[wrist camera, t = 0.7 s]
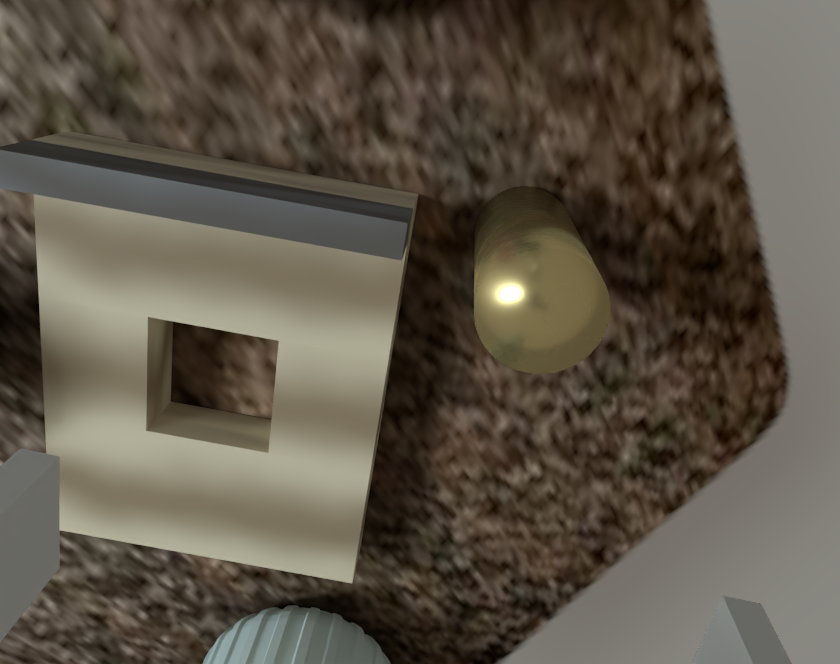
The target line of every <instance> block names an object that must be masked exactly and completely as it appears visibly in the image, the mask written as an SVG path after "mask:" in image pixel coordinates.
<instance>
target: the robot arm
mask: <svg viewBox="0 0 840 664" xmlns="http://www.w3.org/2000/svg"><path fill="white" fill-rule="evenodd" d="M59 498H60V457H59V456H54V455H49V454H45V453H40V452H35V451H30V450H25V449H20V450H18V451H17V452H16V453H15V454H14V455H13V456H12V457H10V458H9V459H8V460H7V461H6V462H5V463H4V464H3V465H1V466H0V642H1V640H2V639H3V638H4V637H5V635H6V634H7V633H8V632H9V630H10V629H11V628H12V627H13V625H14V624H15V623H16V622H17V620H18V619H19V618H20V617H21V615H22V614H23V613H24V612H25V610H26V609H27V608H28V607H29V605H30V604H31V603H32V601H33V600H34V599H35V598H36V596H37V595H38V594H39V593H40V591H41V590H42V589H43V588H44V586H45V585H46V584H47V583H48V581H49V580H50V579H51V578H52V576H53V575H54V574H55V573H56V571H57V570H58V569H59ZM691 664H791V662H790V659H789V658H788V656H787V654H786V652H785V650H784V648H783V646H782V644H781V642H780V640H779V638H778V636H777V634H776V632H775V630H774V628H773V626H772V624H771V622H770V620H769V618H768V616H767V614H766V613H765V611H764V609H763V607H762V605H761V604H760V603H755V602H750V601H745V600H741V599H735V598H731V597H726V596H722V598H721V600H720V602H719V605H718V607H717V609H716V611H715V613H714V615H713V617H712V620H711V622H710V624H709V626H708V628H707V630H706V633H705V635H704V637H703V639H702V641H701V643H700V645H699V648H698V650H697V652H696V654H695V656H694V658H693V661H692V663H691Z"/></svg>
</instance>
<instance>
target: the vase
mask: <svg viewBox="0 0 840 664" xmlns="http://www.w3.org/2000/svg"><path fill="white" fill-rule="evenodd" d="M203 664H391V663H390V661H389V659H388V658H387V656H386V655H385V654H384V653H383V652H382V651H381V648H380V646H379V645H378V643H377V642H376V641H375V640H374V639H373V638H372V637H371V636H369V635H367V634H364V631H363V629H362V628H361V627H360V626H358V625H357V624H355V623H353V622H351V623H348V622H347V621H346V620H344V619H343V618H342V616H340V615H338V614H336V613H332V614H331V613H329V612H325V611H322V610H320V609H319V608H315V607H311V608H299V606H296V605H289V606H287V607H285V608H284V609H279V608H276V607H272V608H268V609H265V610H262V611H261V612H260V613H259V614H251V615H249V616H246V617H244V618H243V619H241V620H240V621H238V622H237V623H236V624H235V625H234V626H232V627H230V628H228V629H227V630H226V631H225V632H224V633H223V634H222V635H221V636H220V637H219V638H218V639H217V641H216V643H215V644H214V646H213V647H211V649H210V650H209V652H208V654H207V655H206V657H205V659H204V662H203Z"/></svg>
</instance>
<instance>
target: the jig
mask: <svg viewBox="0 0 840 664" xmlns="http://www.w3.org/2000/svg"><path fill="white" fill-rule="evenodd" d="M0 188H2V189H7V190H13V191H18V192H24V193H29V194H34V210H35V231H36V251H37V271H38V292H39V312H40V332H41V353H42V373H43V393H44V414H45V434H46V454H49V455H54V456H59V457H60V498H59V530H62V531H68V532H73V533H79V534H84V535H89V536H95V537H100V538H106V539H111V540H117V541H122V542H128V543H133V544H139V545H144V546H150V547H155V548H161V549H166V550H172V551H177V552H183V553H188V554H194V555H199V556H205V557H210V558H216V559H221V560H227V561H232V562H238V563H243V564H249V565H254V566H260V567H265V568H271V569H276V570H282V571H287V572H293V573H298V574H304V575H309V576H315V577H320V578H326V579H331V580H336V581H342V582H347V583H352V582H353V577H354V573H355V569H356V564H357V560H358V555H359V551H360V547H361V541H362V535H363V529H364V523H365V517H366V511H367V504H368V498H369V492H370V486H371V480H372V474H373V468H374V462H375V456H376V450H377V444H378V438H379V431H380V425H381V419H382V413H383V407H384V401H385V395H386V389H387V383H388V377H389V371H390V365H391V358H392V352H393V346H394V340H395V334H396V328H397V322H398V316H399V310H400V304H401V298H402V291H403V285H404V279H405V273H406V267H407V261H408V255H409V249H410V243H411V237H412V231H413V225H414V218H415V212H416V206H417V200H418V194H416V193H411V192H405V191H400V190H394V189H389V188H383V187H378V186H372V185H366V184H361V183H355V182H350V181H344V180H339V179H333V178H327V177H322V176H316V175H311V174H305V173H300V172H294V171H289V170H283V169H277V168H272V167H266V166H261V165H255V164H250V163H244V162H238V161H233V160H227V159H222V158H216V157H211V156H205V155H200V154H194V153H188V152H183V151H177V150H172V149H166V148H161V147H155V146H150V145H144V144H138V143H133V142H127V141H122V140H116V139H111V138H105V137H99V136H94V135H88V134H83V133H77V132H72V131H68V132H63V133H59V134H54V135H50V136H46V137H41V138H37V139H33V140H28V141H24V142H19V143H15V144H11V145H6V146H2V147H0ZM173 322H179V323H184V324H190V325H195V326H201V327H206V328H212V329H217V330H223V331H228V332H234V333H239V334H245V335H250V336H256V337H262V338H267V339H273V340H278V341H279V346H278V356H277V367H276V378H275V388H274V399H273V409H272V420H270V419H264V418H259V417H253V416H248V415H242V414H237V413H231V412H226V411H220V410H215V409H209V408H204V407H198V406H193V405H187V404H182V403H176V402H171V377H172V344H173Z"/></svg>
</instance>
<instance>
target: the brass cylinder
mask: <svg viewBox="0 0 840 664" xmlns="http://www.w3.org/2000/svg"><path fill="white" fill-rule="evenodd" d="M610 309H611V308H610V298H609V293H608V290H607V287H606V285H605V283H604V281H603V279H602V277H601V275H600V273H599V271H598V269H597V267H596V265H595V264H594V262H593V260H592V258H591V256H590V254H589V252H588V250H587V248H586V246H585V245H584V243H583V241H582V239H581V237H580V235H579V233H578V231H577V229H576V227H575V225H574V224H573V222H572V220H571V218H570V216H569V214H568V212H567V210H566V209H565V207H564V206H563V204H562V203H561V202H560V201H559V200H558V199H557V198H556V197H555V196H553V195H552V194H550V193H549V192H547V191H545V190H542V189H539V188H535V187H528V186H522V187H514V188H511V189H508V190H505V191H503V192H501V193H499V194H498V195H496V196H495V197H493V198H492V199H491V200H490V201H489V202H488V203H487V204H486V205H485V207H484V208H483V209H482V211H481V213H480V214H479V217H478V219H477V223H476V226H475V256H474V320H475V326H476V329H477V333H478V335H479V337H480V340H481V341H482V343H483V345H484V346H485V348H486V349H487V350H488V351H489V352H490V354H492V355H493V356H494V357H495V358H496V359H497V360H499V361H500V362H501V363H503V364H505V365H507V366H508V367H510V368H513V369H516V370H518V371H522V372H526V373H534V374H545V373H553V372H557V371H561V370H564V369H567V368H570V367H572V366H573V365H575V364H577V363H579V362H580V361H582V360H583V359H585V358H586V357H587V356H588V355H589V354H591V353H592V351H593V350H594V349H595V348H596V347H597V346H598V344H599V343H600V341H601V340H602V338H603V336H604V334H605V332H606V329H607V327H608V323H609V319H610Z"/></svg>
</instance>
